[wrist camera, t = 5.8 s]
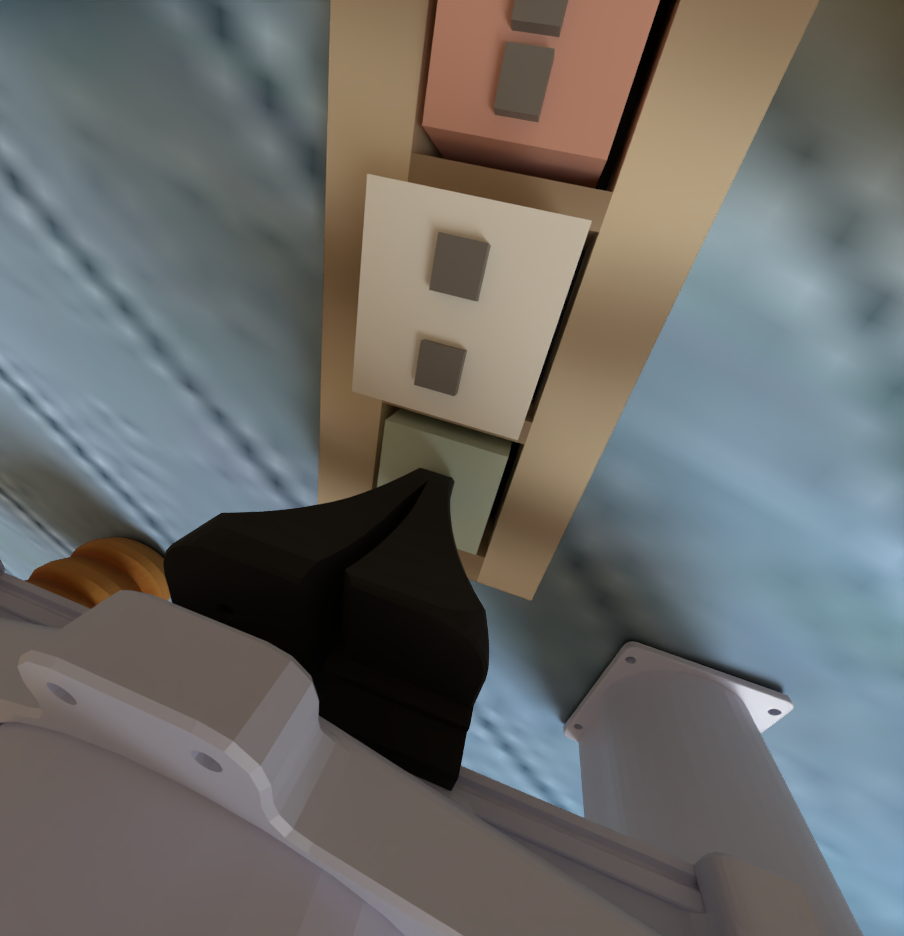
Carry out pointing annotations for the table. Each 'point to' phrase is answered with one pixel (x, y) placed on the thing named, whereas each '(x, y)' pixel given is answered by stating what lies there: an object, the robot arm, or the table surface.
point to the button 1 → (448, 466)
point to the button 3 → (533, 82)
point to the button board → (612, 211)
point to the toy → (104, 572)
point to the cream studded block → (459, 301)
